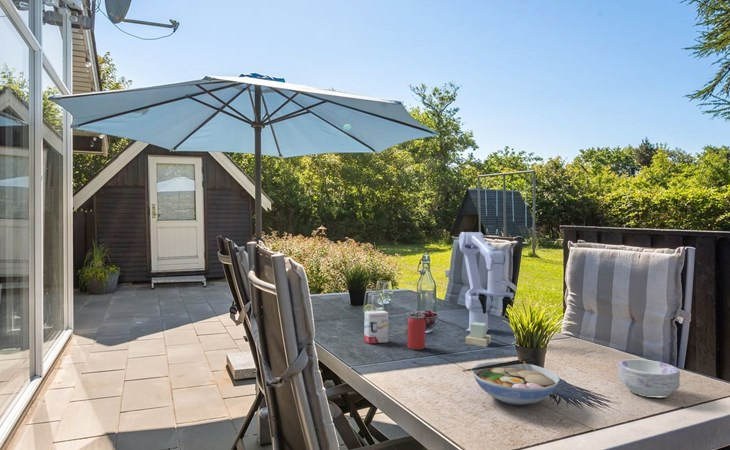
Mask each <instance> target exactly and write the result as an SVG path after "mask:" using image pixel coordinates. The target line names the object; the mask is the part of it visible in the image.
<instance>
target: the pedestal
mask: <svg viewBox="0 0 730 450" xmlns="http://www.w3.org/2000/svg"><path fill="white" fill-rule="evenodd" d="M491 343H492V336H491V335H489V334H486V337H484V338H483V339H482V338H475V337H470V333H469V334H468V335H467V336H466V337H465V343H464V344H465V345H471V346H479V347H484V348H487V347H488V345H489V344H491Z"/></svg>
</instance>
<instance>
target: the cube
mask: <svg viewBox="0 0 730 450" xmlns="http://www.w3.org/2000/svg"><path fill="white" fill-rule="evenodd" d="M487 328H488V327H487V323H479V322H473V323H472V324H471V325H470V331H469V332H470V333H469V334H470V337H475V338H482V339H483V338H484V337H486V335H487V331H486V329H487Z"/></svg>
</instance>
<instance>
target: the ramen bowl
mask: <svg viewBox="0 0 730 450" xmlns="http://www.w3.org/2000/svg"><path fill="white" fill-rule="evenodd" d="M530 363H531V364H530ZM532 363H536V359H532V358H531V357H525V358H521V359H514V360H510V361H507V360H498V361H497V360H496V361H495V360H494V361H485V362H482V363H478V364H476V365H475V366H473V367H472V368H468V369H463V370H461V371H462V372H472V375H473V377H474V379H475V381H476V382H477V384H478V386H479V387H480V388H481V390H483V391H484V392H486V394H488V395H489V396H490V397H491V398H494V399H497V400H499V401H501V402H503V403H505V404H507V405H511V406H525V405H528V404H534V403H535V404H536V403H538V402H541V401H542V400H545V399H547V398H548V397H549V395H550V394H552V392H553V391H554V390H555V389H556V387H557V386H558V384H559V383H560V380H561V379H560V377H559V376H558V375H557V374H556V373H555V372H554V371H551V370H549V369H547V368H545V367H541V366H539V365H535V364H532Z"/></svg>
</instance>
